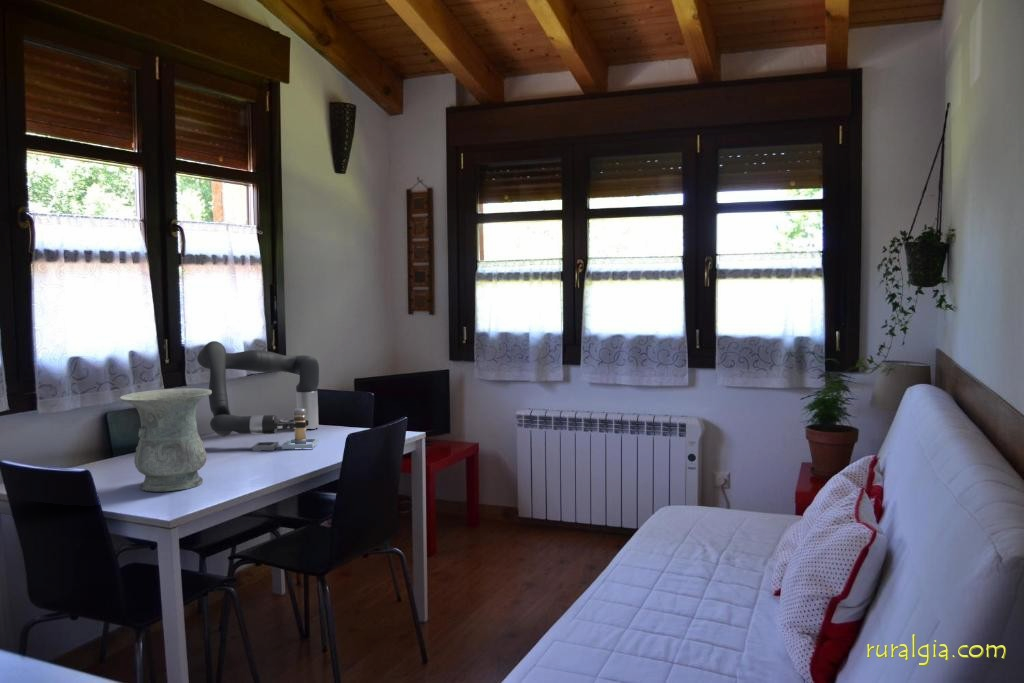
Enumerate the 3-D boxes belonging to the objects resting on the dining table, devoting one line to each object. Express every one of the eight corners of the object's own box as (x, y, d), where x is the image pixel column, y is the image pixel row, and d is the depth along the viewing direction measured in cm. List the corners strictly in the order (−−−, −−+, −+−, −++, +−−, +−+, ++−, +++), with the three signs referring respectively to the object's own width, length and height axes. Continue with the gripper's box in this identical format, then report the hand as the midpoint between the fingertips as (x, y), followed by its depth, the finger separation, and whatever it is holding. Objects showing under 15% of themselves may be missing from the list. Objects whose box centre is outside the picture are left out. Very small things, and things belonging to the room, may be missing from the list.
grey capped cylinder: (296, 442, 306) (295, 408, 305) (307, 442, 306) (306, 408, 305) (293, 445, 301) (292, 410, 300) (305, 444, 301) (304, 409, 300)
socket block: (258, 447, 304) (258, 442, 304) (278, 446, 304) (278, 441, 304) (252, 451, 296) (252, 446, 296) (273, 450, 296) (273, 445, 296)
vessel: (112, 486, 245) (107, 393, 243) (195, 471, 264) (191, 385, 262) (142, 501, 226) (137, 401, 224) (229, 484, 244) (225, 392, 242)
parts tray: (289, 444, 309) (289, 439, 309) (319, 443, 310) (318, 438, 310) (281, 450, 297) (281, 445, 297) (312, 449, 298) (312, 444, 298)
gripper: (258, 418, 295) (302, 417, 296) (268, 412, 309) (310, 411, 310) (258, 437, 296) (303, 436, 296) (268, 430, 310) (311, 429, 310)
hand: (306, 423), depth 303 cm, fingers closed on grey capped cylinder, 4 cm apart
